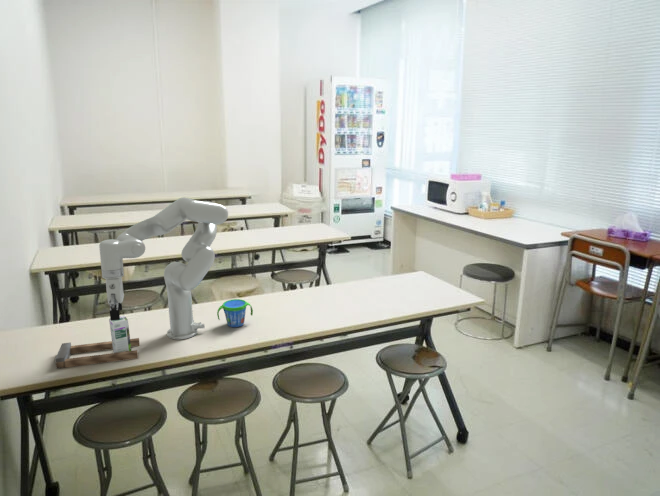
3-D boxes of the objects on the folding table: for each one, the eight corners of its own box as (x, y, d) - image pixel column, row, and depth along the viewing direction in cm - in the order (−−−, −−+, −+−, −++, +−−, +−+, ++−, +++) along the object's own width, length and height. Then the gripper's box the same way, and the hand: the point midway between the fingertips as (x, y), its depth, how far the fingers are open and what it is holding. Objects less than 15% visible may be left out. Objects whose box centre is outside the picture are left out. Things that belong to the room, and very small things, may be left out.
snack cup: (218, 331, 213) (217, 309, 210) (217, 321, 223) (216, 300, 220) (254, 327, 216) (253, 306, 214) (252, 318, 226) (251, 297, 224)
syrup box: (116, 357, 189) (112, 323, 185) (112, 351, 193) (108, 317, 190) (132, 353, 192) (128, 319, 188) (127, 348, 197) (124, 314, 193)
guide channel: (139, 343, 200) (138, 334, 199) (137, 358, 188) (136, 348, 187) (63, 352, 192) (62, 343, 191) (56, 368, 180) (54, 358, 179)
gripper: (121, 278, 177) (125, 322, 181) (125, 265, 193) (128, 306, 197) (98, 280, 175) (103, 324, 179) (104, 266, 191) (108, 307, 195)
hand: (116, 315), depth 188 cm, fingers open, 9 cm apart
